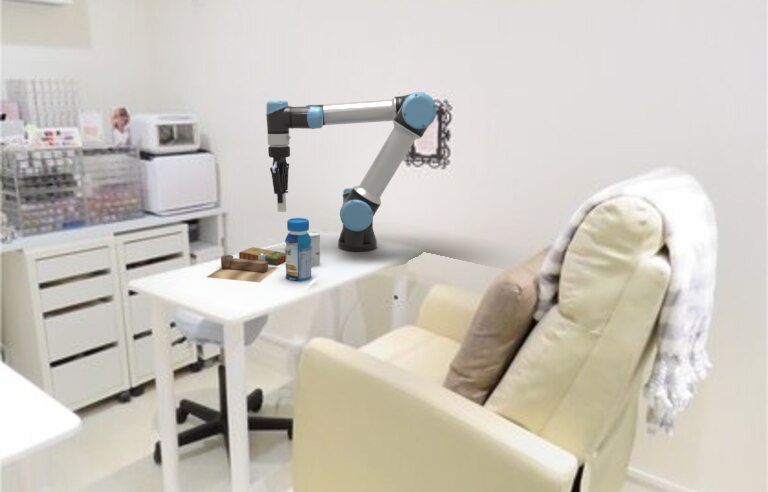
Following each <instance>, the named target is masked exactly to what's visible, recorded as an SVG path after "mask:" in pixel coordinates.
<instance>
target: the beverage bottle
mask: <svg viewBox="0 0 768 492" xmlns="http://www.w3.org/2000/svg"><path fill="white" fill-rule="evenodd" d="M286 222H287V224H286V225H287V226H286V227H287V231H288V232H287V235H286V237H285V240H284V241H285V247H284V253H286V262H285V279H286V280H287V281H290V282H306V281H309V280H311V279H312V277H313V276H312V267H311V252H312V247H311V245H310V244H311V238H310V236H309V234H308V233H309V230H310V221H309V219H308V218H302V217H294V218H293V217H291V218H288V219H287V221H286Z"/></svg>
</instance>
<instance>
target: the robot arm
mask: <svg viewBox="0 0 768 492" xmlns="http://www.w3.org/2000/svg"><path fill="white" fill-rule="evenodd" d="M437 110H438V109H437V104H436V102H435V100H434V99H433V98H432V96H430V95H429V94H427V93H425V92H413V93H410V94H406V95H400V96H399V95H398V96H393V97H392V98H391V99H385V100H384V99H381V100H372V101H371V100H369V101H368V100H367V101H354V102H353V101H352V102H341V103H340V102H339V103H326V104H315V105H314V104H308V105H305V106H291V105H289V102H288V101H287V100H269V101H267V102H266V113H265V115H266V127H267V129H266V130H267V145H268V147H267V149H268V157H269V158H273V160H272V166H271V167H270V168H269V170H270V174H271V179H272V187H273V194H274V195H276V202H277V212H279V213H285V212H287V198H286V197H287V196H286V194H289V188H288V187H289V168H290V163H287V158H289V157H290V156H291V147H290V146H289V145H290V140H291V136H290V129H291V130H294V129H306V130H307V129H309V130H314V129H315V130H316V129H321V128H323V127H324V126H330V125H331V126H333V125H348V124H349V125H350V124H362V123H363V124H365V123H378V122H379V123H380V122H393V129H392V130H391V132H390V133H389V135H388V136H387V139H386V141H385V142H384V144H383V145H382V147H381V148H380V150H379V152H378V154H377V155H376V157H375V159H374V160H373V162H372V164H371V165H370V166H369V169H368V170H367V172H366V173H365V175H364V177H363V179H362V180H361V182H360V183H359V185H356V186H353V187H351V188H350V187H349V188H345V189H343V191H342V192H343V194H342V205H341V207H340V211H339V217H340V221H341V223H342V229H341V232H340V235H339V238H338V242H337V243H338V244H337V246H338V249H341V250H344V251H348V252H368V251H374V250H375V249H377V247H378V242H377V241H378V240H377V237H376V234H375V231H374V227H373V225H374V224H373V223H374V216H375V215H376V213H377V212H378V209H379V207H381V204H382V201H381V196H383V193H384V191H385V190H386V188H387V186H388V185H389V183H390V182H391V180H392V179H393V178H394V175H395V174H396V172H397V170H398V168H399V167H400V166H401V163H402V162H403V160H404V159H405V157H406V155H407V154H408V153H409V150H410V149H411V148H412V146H413V144H414V142H415V141H416V140H419V139H422V138H423V136H424V134H425V133H426V131H427V130H428V127H429V126H431V125H432V123H433V122H434V121H435V119H436V117H437V112H438V111H437Z"/></svg>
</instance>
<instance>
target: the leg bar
mask: <svg viewBox="0 0 768 492" xmlns="http://www.w3.org/2000/svg"><path fill="white" fill-rule="evenodd" d="M220 266H221V267H220V268H224V269H229V268H231V269H239V270H249V271H258V272H265V271H267V270H268V267H269V264H268V262H267V261H257V260H247V259H239V258H237V257H235V258H234V255H230V254H226V253H225V254H224V255H222V256H220Z"/></svg>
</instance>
